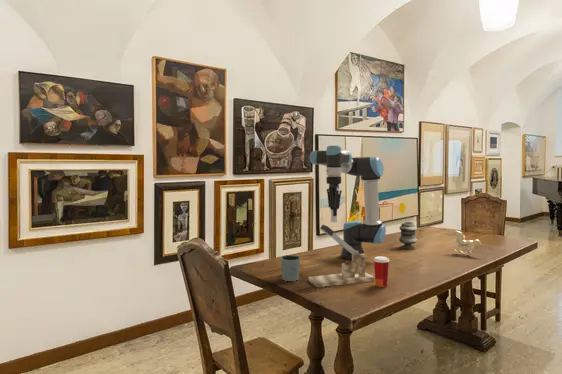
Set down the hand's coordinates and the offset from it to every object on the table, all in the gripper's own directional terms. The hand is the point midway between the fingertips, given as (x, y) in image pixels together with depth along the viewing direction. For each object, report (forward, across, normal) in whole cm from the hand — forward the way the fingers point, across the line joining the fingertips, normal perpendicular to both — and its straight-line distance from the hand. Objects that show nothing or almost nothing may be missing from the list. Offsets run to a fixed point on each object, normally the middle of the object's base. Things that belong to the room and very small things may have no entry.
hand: (333, 222), depth 205 cm
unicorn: (+31, -23, +105) cm, 112 cm away
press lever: (+12, 0, +4) cm, 13 cm away
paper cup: (+31, +14, +19) cm, 39 cm away
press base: (+31, 0, +4) cm, 31 cm away
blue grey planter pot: (+31, -11, -20) cm, 39 cm away
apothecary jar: (+31, -55, +84) cm, 105 cm away
